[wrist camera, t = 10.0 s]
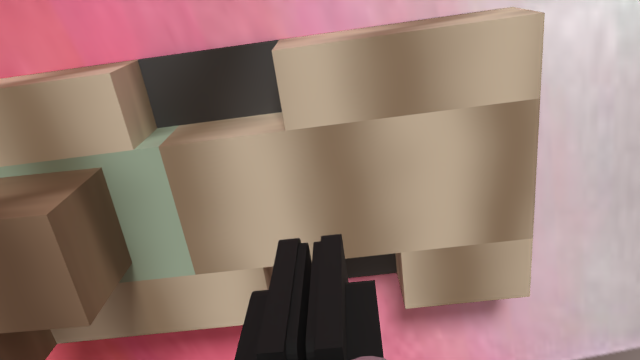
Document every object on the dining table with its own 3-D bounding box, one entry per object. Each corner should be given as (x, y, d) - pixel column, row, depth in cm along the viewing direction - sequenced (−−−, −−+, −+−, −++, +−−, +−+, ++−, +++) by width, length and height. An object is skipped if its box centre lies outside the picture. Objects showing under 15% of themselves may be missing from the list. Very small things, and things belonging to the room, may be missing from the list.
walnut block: (101, 167, 19) (46, 214, 15) (132, 262, 20) (90, 325, 17) (-7, 178, 19) (-87, 227, 15) (33, 271, 21) (-31, 336, 17)
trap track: (512, 7, 19) (589, 21, 13) (506, 258, 24) (560, 345, 18) (-28, 82, 20) (-159, 123, 15) (68, 305, 25) (-4, 397, 20)
